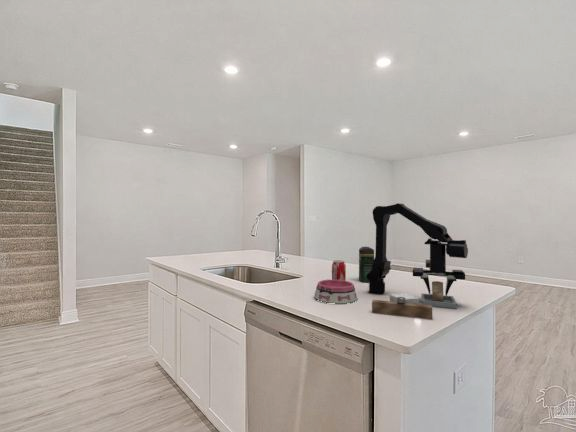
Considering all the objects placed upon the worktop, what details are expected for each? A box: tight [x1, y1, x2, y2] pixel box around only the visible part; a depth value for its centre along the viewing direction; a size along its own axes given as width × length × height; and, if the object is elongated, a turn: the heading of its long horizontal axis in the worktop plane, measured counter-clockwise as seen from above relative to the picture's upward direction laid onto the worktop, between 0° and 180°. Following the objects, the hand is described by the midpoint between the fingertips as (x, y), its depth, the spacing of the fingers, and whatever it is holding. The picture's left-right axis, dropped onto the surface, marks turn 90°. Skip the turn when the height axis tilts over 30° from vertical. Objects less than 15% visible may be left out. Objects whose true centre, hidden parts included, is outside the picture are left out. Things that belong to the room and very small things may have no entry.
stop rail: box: [371, 297, 433, 320], centre depth 109 cm, size 20×3×6 cm, turn 67°
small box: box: [389, 292, 420, 304], centre depth 116 cm, size 8×8×5 cm
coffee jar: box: [358, 246, 375, 283], centre depth 167 cm, size 10×8×19 cm
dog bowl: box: [313, 279, 359, 305], centre depth 132 cm, size 18×19×7 cm
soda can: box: [331, 260, 347, 281], centre depth 158 cm, size 7×7×12 cm
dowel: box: [431, 280, 444, 302], centre depth 123 cm, size 4×4×8 cm
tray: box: [420, 293, 457, 310], centre depth 123 cm, size 12×12×2 cm
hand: (437, 294), depth 123 cm, fingers open, 6 cm apart
